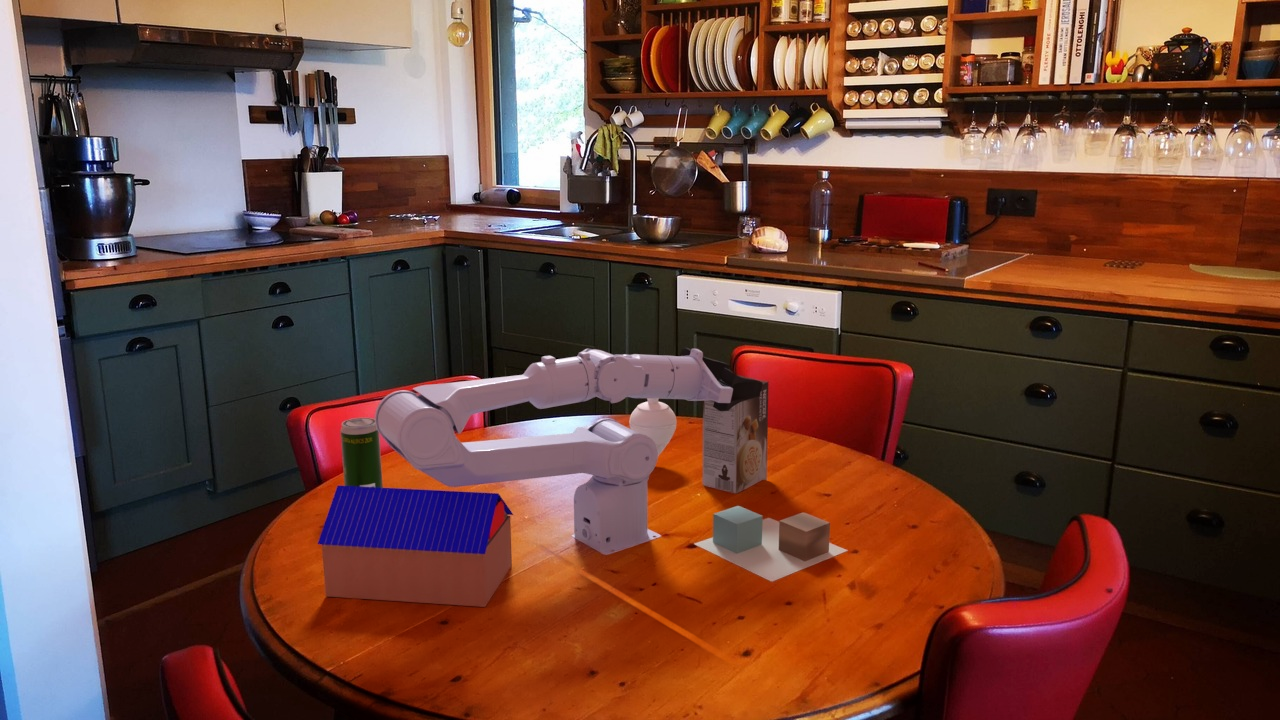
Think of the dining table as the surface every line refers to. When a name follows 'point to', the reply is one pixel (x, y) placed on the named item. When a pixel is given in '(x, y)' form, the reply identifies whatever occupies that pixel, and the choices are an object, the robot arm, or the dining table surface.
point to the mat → (768, 555)
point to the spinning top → (654, 422)
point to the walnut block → (804, 536)
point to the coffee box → (736, 443)
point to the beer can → (361, 453)
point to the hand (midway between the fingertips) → (743, 380)
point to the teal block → (737, 529)
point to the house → (416, 545)
